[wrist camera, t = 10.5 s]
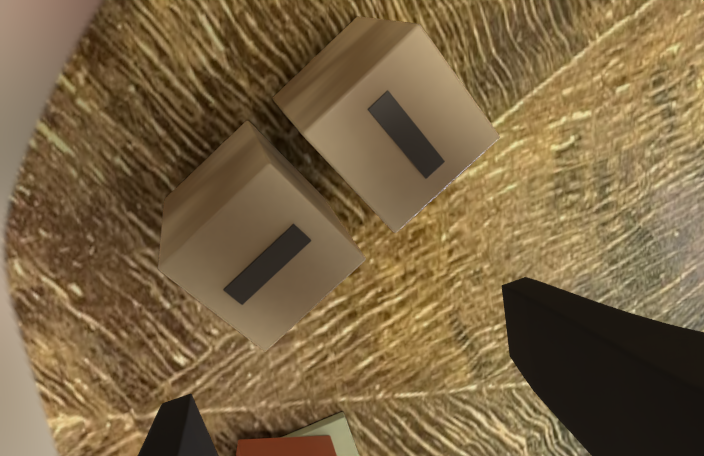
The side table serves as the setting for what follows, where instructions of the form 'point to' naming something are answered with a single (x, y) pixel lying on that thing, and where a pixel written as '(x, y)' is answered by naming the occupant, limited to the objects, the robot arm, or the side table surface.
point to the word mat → (332, 434)
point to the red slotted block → (287, 446)
